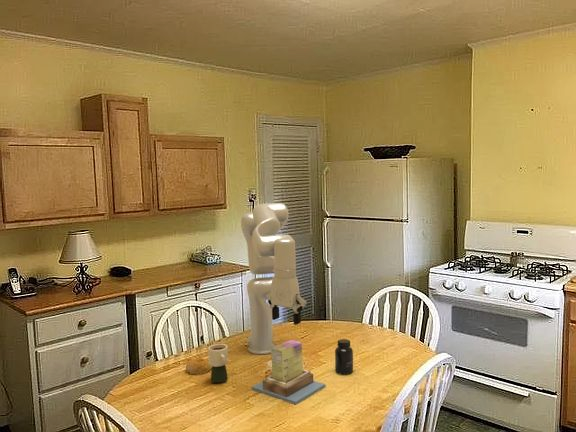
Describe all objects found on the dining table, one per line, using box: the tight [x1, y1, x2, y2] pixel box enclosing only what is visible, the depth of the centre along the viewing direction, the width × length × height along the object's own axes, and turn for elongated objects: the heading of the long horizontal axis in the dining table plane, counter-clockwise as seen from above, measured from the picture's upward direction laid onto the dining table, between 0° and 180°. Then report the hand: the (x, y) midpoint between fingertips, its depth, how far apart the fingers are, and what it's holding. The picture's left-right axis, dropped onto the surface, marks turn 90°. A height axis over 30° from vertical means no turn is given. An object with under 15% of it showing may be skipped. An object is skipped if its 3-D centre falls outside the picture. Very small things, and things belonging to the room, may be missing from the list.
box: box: [270, 339, 304, 383], centre depth 177 cm, size 10×6×12 cm, turn 137°
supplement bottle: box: [334, 338, 354, 375], centre depth 191 cm, size 7×7×12 cm
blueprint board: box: [251, 380, 326, 406], centre depth 178 cm, size 20×17×1 cm
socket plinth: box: [262, 369, 315, 397], centre depth 177 cm, size 11×15×4 cm
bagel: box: [185, 357, 212, 375], centre depth 197 cm, size 10×11×5 cm
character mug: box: [207, 343, 229, 383], centre depth 185 cm, size 11×7×13 cm, turn 31°
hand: (286, 321), depth 176 cm, fingers open, 9 cm apart
